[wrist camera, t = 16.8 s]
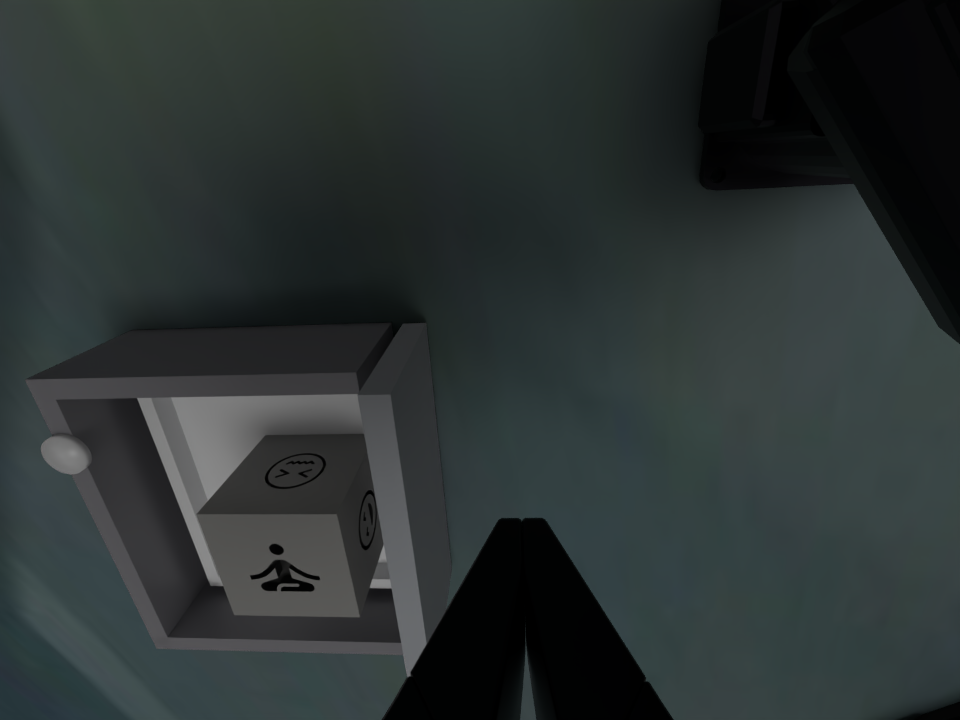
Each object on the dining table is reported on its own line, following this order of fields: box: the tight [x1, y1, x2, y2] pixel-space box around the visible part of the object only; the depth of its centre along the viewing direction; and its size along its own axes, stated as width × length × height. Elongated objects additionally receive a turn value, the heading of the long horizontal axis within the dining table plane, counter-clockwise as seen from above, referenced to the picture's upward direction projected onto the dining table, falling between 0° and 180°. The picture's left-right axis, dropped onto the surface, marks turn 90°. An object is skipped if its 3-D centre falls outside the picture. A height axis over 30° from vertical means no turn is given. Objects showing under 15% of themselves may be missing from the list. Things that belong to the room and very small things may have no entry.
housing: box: [25, 322, 403, 655], centre depth 21 cm, size 12×14×5 cm
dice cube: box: [196, 434, 384, 617], centre depth 19 cm, size 5×5×5 cm
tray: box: [137, 323, 452, 677], centre depth 20 cm, size 12×14×6 cm
